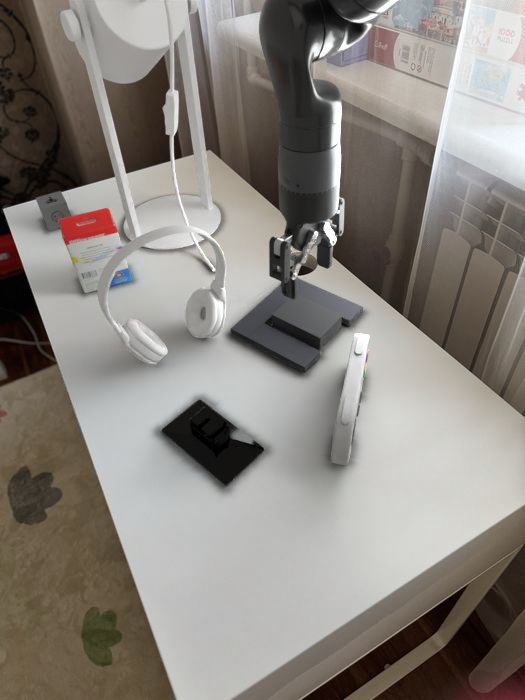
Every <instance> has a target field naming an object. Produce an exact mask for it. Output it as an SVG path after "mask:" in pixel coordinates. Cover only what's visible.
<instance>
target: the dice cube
mask: <svg viewBox="0 0 525 700" xmlns="http://www.w3.org/2000/svg"><path fill="white" fill-rule="evenodd" d="M35 201H36V203H37V206H38V208H39V211H40V213H41V216H42V218H43V221H44V223H45V225H46V227H47V230H48V232H53V231H56V230H58V229H61V227H60V225H59V223H58V220H59V219H61V218H66V217H70V216H72V214H71V211H70V208H69V205H68V203H67V200H66V199H65V196H64V194H63V193H62V191H61V190H59V191H54V192H51V193H48V194H44V195H40V196H37V197H35Z"/></svg>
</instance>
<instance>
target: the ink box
mask: <svg viewBox="0 0 525 700" xmlns="http://www.w3.org/2000/svg"><path fill="white" fill-rule="evenodd" d="M58 223H59V225H60V227H61V228H60V232H61V237H62V240H63V242H64V245H65V247H66V250H67V253H68V255H69V257H70V261H71V262H72V265H73V268H74V270H75V272H76V273H75V274H76V275H77V278H78V280H79V284H80V286H81V289H82V291H83V292H84V294H89V293H92V292H96V291H98V283H99V279H100V276H101V274H102V271H103V269H104V267H105V266H106V264H107V263H108V261H109V260H110V259H111V258H112V256H113V255H114V254H115V253H116V252H117V251H118V250H120V249H121V248H122V247H123V244H122V241H121V238H120V235H119V230H118V227H117V225H116V222H115V219H114V217H113V214H112V212H111V208H109V207H103V208H100V209H95V210H91V211H87V212H82V213H78V214H73V215H71V216H70V217H66V218H61V219H59V220H58ZM132 281H133V278H132V275H131V272H130V269H129V264H128V262H127V257H126V258H125V259H124V260H123V261H122V262H121V263H120V264H119V265H118V266H117V268H116V269H115V275H114V277H113V279H112V281H111V284H110V287H114V286H118V285H122V284H125V283H129V282H132ZM110 287H109V288H110Z"/></svg>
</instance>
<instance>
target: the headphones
mask: <svg viewBox="0 0 525 700" xmlns="http://www.w3.org/2000/svg"><path fill="white" fill-rule="evenodd" d="M177 233H197V234H198V235H200V236H201V237H202V238H204V240H205V241H207V242H208V243H209V244H210V246H211V247H212V250H213V252H214V256H215V261H216V262H215V269H216V270H215V275H214V279H212V281H211V283H210V285H209V288H206V287H199V288H197V289H196V290H195V291H193V293H192V294H191V295H190V296H189V299H188V300H187V303H186V307H185V323H186V328H187V330H188V331H189V333H190V335H192V337H195V338H197V339H204V338H213V337H216V336H217V335H219V334H220V332H221V331H222V329H223V328H224V325H225V322H226V318H227V317H226V315H227V294H226V288H225V284H226V278H227V261H226V257H225V253H224V251H223V249H222V248H221V245H220V244H219V243H218V242H217V241H216V239H214V238H213V237H212V235H209V234H207V233H206V232H204V231H203V230H201V229H199V228H196V227H192V226H186V225H174V226H167V227H163V228H159V229H156V230H153V231H150V232H148V233H145V234H143V235H141V236H139V237H137V238H135V239H133V240H132V241H131V240H129V242H127V243H125V244H124V245H122V248H121V249H120V250H118V251H117V252H116V253H115V254H114V255H113V256H112V258H111V259H110V260H109V261H108V263H107V264H106V266H105V267H104V269H103V271H102V274H101V276H100V279H99V283H98V290H97V300H98V303H99V307H100V309H101V311H102V313H103V315H104V317H105V318H106V320H107V321H108V323H109V324H110V325H111V327H112V328H113V330H114V332H115V333H116V335H117V336H118V338H119V339H120V341H121V343H122V345H123V346H124V348H125V349H126V350H127V351H128V352H129V353H130V354H131V355H133V356H134V357H135V358H137V359H138V360H139V361H141V362H143V363H145V364H149V365H157V363H158V362H160V361H161V360H163V358H164V357H166V356H167V355H168V348H167V346H166V344H165V342H164V341H162V339H161V337H159V336H158V335H157V334H156V333H155V332H154V331H153V330H152V329H150V328H149V327H148V326H147V325H145V324H144V323H143V322H141V321H140V320H138V319H135V318H128V319H126V320H125V323H124V324H123V325H121V324H120V323H119V322H117V321H116V320H115V319H114V318H113V316H112V315H111V311H110V308H109V302H108V298H109V297H108V296H109V289H110V284H111V281H112V279H113V277H114V275H115V269H116V268H117V266H118V265H119V264H120V263H121V262H122V261H123V260H124V259H125V258H126V259H127V258H128V257H129V256H130V255H131V254H132V253H133V252H135V251H137V250H139V249H140V248H141V247H142V246H143V245H145V244H147V243H149V242H152V241H154V240H156V239H159V238H162V237H165V236H168V235H172V234H177Z"/></svg>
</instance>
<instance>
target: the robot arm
mask: <svg viewBox="0 0 525 700" xmlns="http://www.w3.org/2000/svg"><path fill="white" fill-rule="evenodd" d="M402 1H404V0H264V2H263V5H262V7H261V11H260V13H259V21H258V35H259V42H260V46H261V50H262V54H263V56H264V59H265V63H266V66H267V70H268V73H269V77H270V80H271V84H272V87H273V88H272V89H273V91H274V95H275V98H276V102H277V109H278V152H277V181H278V182H277V183H278V207H279V208H278V209H279V212H280V213H281V215H282V216H283V219H284V220H285V228H284V233H283V235H282V236H281V237H276V236H274V235H273V236H271V237H270V239H269V242H268V256H269V257H268V259H269V260H268V264H269V265H268V267H269V268H268V270H269V274H268V276H269V277H270V278H273V279H275V280H277V281H279V282H280V285H281V293H282V294H283V295H284V296H286V297H288V298H290V299H293V300H294V299H295V298H296V297H297V296H298V279H299V276H298V275H299V272H300V270H301V267H302V265H304V264H306V263H307V260H308V259H309V255H310V253H311V251H312V250H313V248H314V247H316V264H317V265H318V266H319V267H321V268H324V269H326V270H327V269H330V268H331V267H332V265H333V254H334V253H333V251H334V246H335V245H336V243H337V239H338V238H337V237H341V236H342V235H343V233H344V230H345V229H344V228H345V227H344V226H345V198H344V197H340V184H341V181H340V180H341V169H342V168H341V167H342V165H341V164H342V153H341V126H342V124H341V123H342V111H343V109H342V104H343V103H342V93H341V91H340V89H339V87H338V86H337V85H336V84H335V83H333V82H331V81H329V80H327V79H326V80H325V79H322V78H321V79H320V78H313V74H312V64H313V63H317V62H319V61H321V60H325V59H328V58H331V57H334V56H337V55H340V54H342V53H344V52H346V51H347V50H349V49H351V48H353V47H354V46H355V45H357V44H358V43H359V42H360V41H361V40H363V38H365V36H367V34H368V33H369V32H370V31H371V30H372V29H373V27H375V25H376V23H377V22H378V21H379V20H380V18H381V16H383V15H384V14H386V13H388V12H389V11H390V10H392V9H393V8H394V7H396V6H397V5H398V4H400V3H401V2H402ZM333 222H335V224H333ZM292 248H293V249H294V250H296V251H298V252H300V254H299V255H297V254H294V253H293V249H292ZM291 261H293V266H292V268H291Z"/></svg>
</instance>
